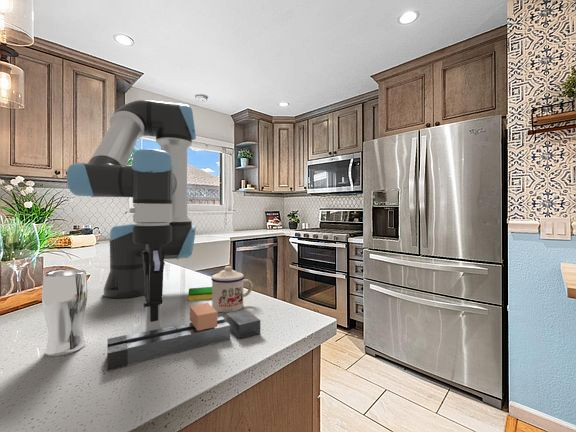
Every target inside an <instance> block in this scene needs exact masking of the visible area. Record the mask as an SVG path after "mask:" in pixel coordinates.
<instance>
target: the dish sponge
mask: <svg viewBox="0 0 576 432" xmlns="http://www.w3.org/2000/svg"><path fill="white" fill-rule="evenodd" d="M187 295H188V296H187V298H188V301H189V300H191V301H199V300H200V299H202V300H210V299H209V298H212V286H209V287H208V286H205V287H191V288H188V293H187Z"/></svg>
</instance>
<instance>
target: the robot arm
mask: <svg viewBox="0 0 576 432" xmlns="http://www.w3.org/2000/svg"><path fill="white" fill-rule="evenodd" d="M194 119H195V118H194V113H193V109H192V107H191V106H190V105H188V104H183V103H179V102H175V103H174V102H168V101H165V102H164V101H157V100H148V99H138V100H134V101H130V102H128V103H126V104H124V105H122V106H120V107H118V108H117V109H116V110H115V111H114V113H112V116H111V117H110V119H109V127H108V130H107V131H106V133H105V134H104V136H103V137H102V139H101V141H100V143H99V145H98V146H97V148H96V149H95V151H94V152H93V154H92V156H91V157H90V159H89V161H88V162H87V163H86V162H80V163H79V162H76V163H72V164H70V165H69V166H68V168H67V171H66V183H67V187H68V190H69V191H70V192H71V193H72V194H73V195H75V196H78V197H91V198H132V207H130V208H129V213H130V214H132V222H133V223H130V224H120V225H115V226H113V227H112V228H111V229H110V232H109V240H108V241H109V272H108V275H107V278H106V281H105V283H104V286H103V296H104V297H106V298H109V299H127V298H134V297H141V296H144V298H145V302H144V303H143V305H142V306H143V308H145V332H147V331H151V330H156V329H161V328H162V327H161V325H162V323H161V321H162V320H161V318H162V317H161V315H162V314H161V312H162V310H161V305H162V304H163V292H164V291H163V289H164V288H163V287H164V268H165V263H166V262H165V260H180V259H181V260H182V259H189V258H190V257H192V255H193V251H194V245H195V244H194V243H195V237H196V229H197V226H196V225H194V224H193V221H192V219H191V218H190V217H189V216H188V148H190V147H191V146H192V144H193V143H192V142H193V141H194V140H196V138H197V137H196V136H197V135H196V129H195V120H194ZM143 136H144V137H145V136H146V137H155V142H156V143H157V144H158V145H159V146H160V149H153V148H152V149H151V148H141V149H137V150H134V148H135V145H136V143H137V141H138V140H139V139H140V138H141V139H142V137H143ZM131 155H132V161H131V165H128V162H129V160H130V158H131Z"/></svg>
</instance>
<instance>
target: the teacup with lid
mask: <svg viewBox="0 0 576 432" xmlns="http://www.w3.org/2000/svg"><path fill="white" fill-rule="evenodd" d="M211 283H212V284H211V285H212V286H211V287H212V299H211V300H212V301H211V302H212V303H211V306H212V307H213V308H214V309H215V310H216V311H217V313H225V314H226V313H230V312H235V311H240V310H242V309H243V308H244V298H245V297H248V296H249V295H250V294H251V292H252V290H253V282H252V281H251V280H250V279H247V278H246V279H245V275H244V274H243V273H242V272H238V271H236V270H234V269H232V266H231V265H228V266H227V265H226V266H225V267H224V269H223V270H220V271H219V272H217V273H215V274H213V275H212V277H211ZM244 283H248V289H247V292H245V293H244Z"/></svg>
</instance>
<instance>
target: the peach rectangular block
mask: <svg viewBox="0 0 576 432" xmlns="http://www.w3.org/2000/svg"><path fill="white" fill-rule="evenodd" d="M217 317H218V312H217V311H216V310H215V309H214V308H213V307H212V304H210V303H208V302H206V303H200V304H194V305H189V321H190V323H191V322H192V324H193V325H194V327H195V328H196V329H197V331H199V330H204V329H208V328H213V327H217Z"/></svg>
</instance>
